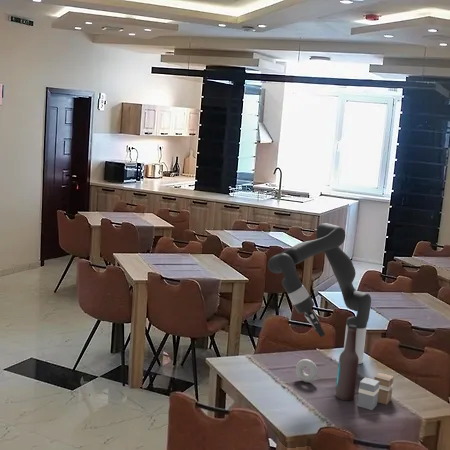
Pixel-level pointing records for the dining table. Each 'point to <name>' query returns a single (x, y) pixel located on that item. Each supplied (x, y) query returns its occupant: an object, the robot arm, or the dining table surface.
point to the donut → (312, 368)
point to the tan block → (384, 387)
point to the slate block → (368, 393)
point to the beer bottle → (348, 367)
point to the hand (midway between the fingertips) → (320, 333)
